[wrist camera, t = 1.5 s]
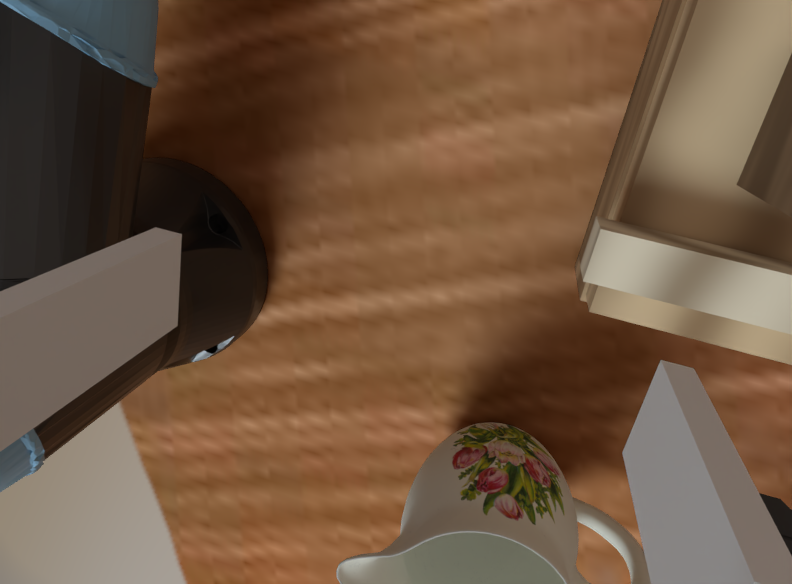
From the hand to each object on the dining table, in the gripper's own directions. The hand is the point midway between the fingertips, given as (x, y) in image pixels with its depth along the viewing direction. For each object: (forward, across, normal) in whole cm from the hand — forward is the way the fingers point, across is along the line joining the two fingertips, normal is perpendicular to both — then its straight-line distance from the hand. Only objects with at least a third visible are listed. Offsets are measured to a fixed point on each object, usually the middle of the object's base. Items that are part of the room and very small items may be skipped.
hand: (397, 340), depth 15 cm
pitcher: (+24, +7, -20) cm, 32 cm away
